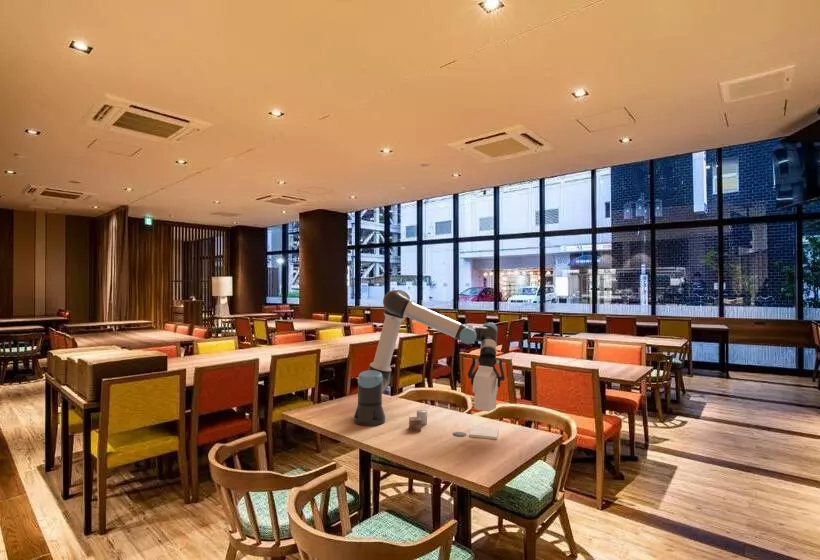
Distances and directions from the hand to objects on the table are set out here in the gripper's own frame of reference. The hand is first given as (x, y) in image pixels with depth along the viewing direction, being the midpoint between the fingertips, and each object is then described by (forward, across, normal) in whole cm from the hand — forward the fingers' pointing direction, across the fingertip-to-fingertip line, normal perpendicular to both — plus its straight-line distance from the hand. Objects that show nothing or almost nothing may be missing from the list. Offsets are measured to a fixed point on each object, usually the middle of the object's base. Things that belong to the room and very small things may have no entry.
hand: (484, 391), depth 190 cm
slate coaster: (+15, +11, -13) cm, 23 cm away
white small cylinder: (+8, +30, -19) cm, 37 cm away
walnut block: (+14, +31, -13) cm, 37 cm away
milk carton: (+4, 0, -8) cm, 9 cm away
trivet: (+11, 0, -16) cm, 19 cm away
